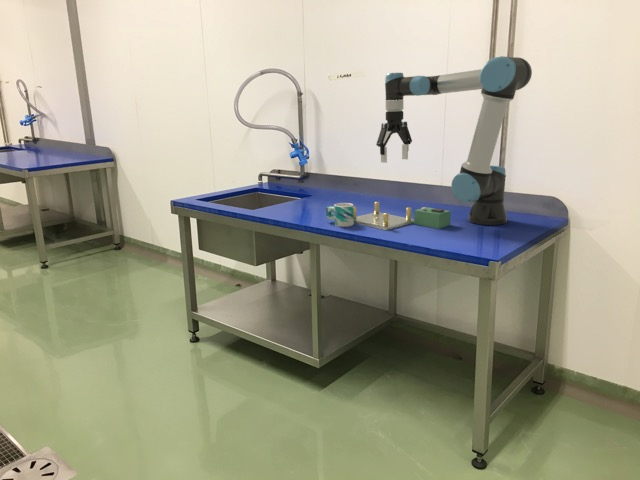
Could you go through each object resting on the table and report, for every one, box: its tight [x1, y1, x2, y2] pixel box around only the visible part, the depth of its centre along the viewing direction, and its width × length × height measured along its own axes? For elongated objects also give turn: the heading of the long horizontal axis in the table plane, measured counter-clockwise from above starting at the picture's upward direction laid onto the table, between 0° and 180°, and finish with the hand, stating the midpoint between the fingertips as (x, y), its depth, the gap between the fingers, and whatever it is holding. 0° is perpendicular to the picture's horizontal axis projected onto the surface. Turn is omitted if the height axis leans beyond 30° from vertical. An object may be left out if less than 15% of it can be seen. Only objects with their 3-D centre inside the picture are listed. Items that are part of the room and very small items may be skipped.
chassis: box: [353, 201, 414, 231], centre depth 223 cm, size 22×18×6 cm
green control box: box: [413, 206, 452, 229], centre depth 217 cm, size 12×8×7 cm, turn 43°
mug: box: [325, 202, 354, 228], centre depth 222 cm, size 8×12×8 cm
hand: (394, 160), depth 233 cm, fingers open, 13 cm apart
